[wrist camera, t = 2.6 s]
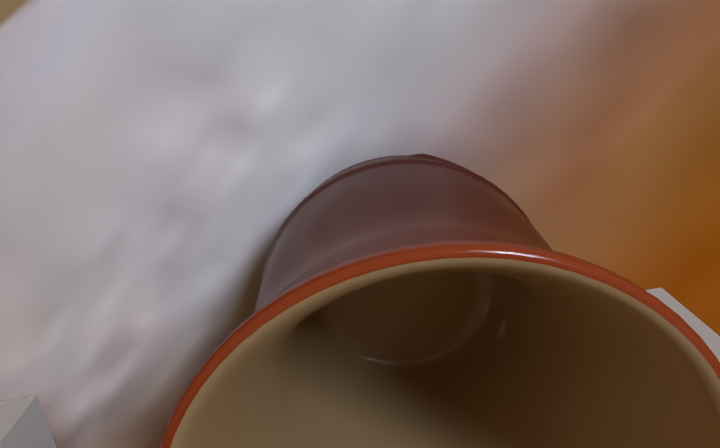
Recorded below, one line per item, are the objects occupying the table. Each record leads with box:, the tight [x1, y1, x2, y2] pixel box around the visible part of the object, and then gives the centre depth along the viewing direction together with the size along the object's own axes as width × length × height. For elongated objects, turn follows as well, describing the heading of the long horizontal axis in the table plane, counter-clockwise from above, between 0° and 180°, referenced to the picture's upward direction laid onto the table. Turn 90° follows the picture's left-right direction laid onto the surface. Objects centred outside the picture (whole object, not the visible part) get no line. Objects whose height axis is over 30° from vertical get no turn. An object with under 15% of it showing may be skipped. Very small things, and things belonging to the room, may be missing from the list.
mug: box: [159, 154, 720, 448], centre depth 15 cm, size 12×9×10 cm
